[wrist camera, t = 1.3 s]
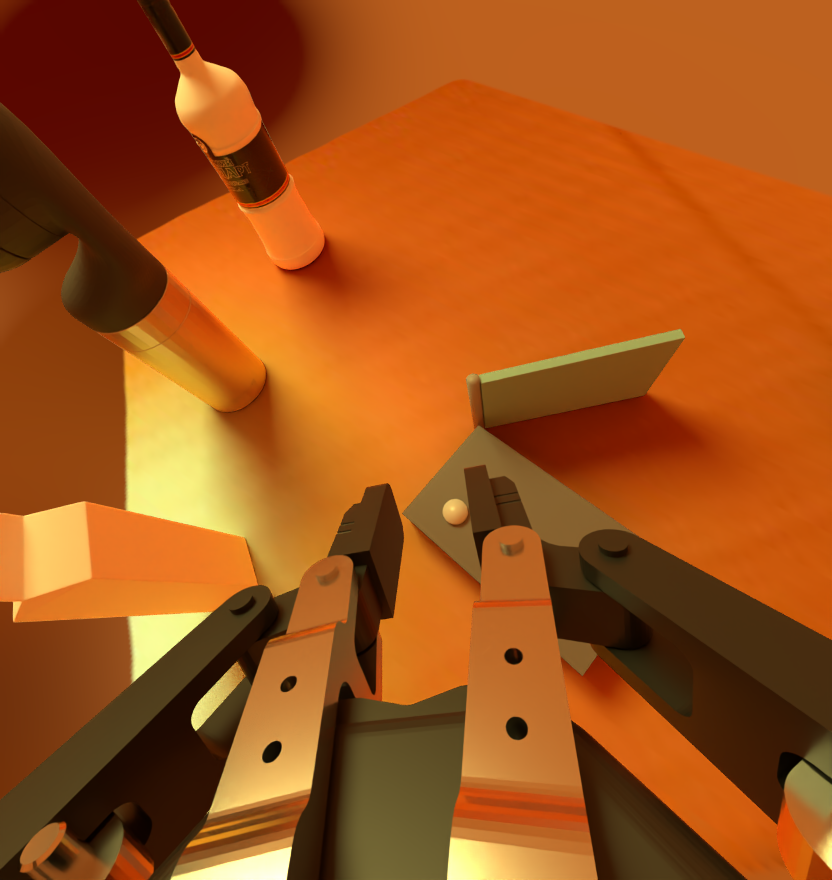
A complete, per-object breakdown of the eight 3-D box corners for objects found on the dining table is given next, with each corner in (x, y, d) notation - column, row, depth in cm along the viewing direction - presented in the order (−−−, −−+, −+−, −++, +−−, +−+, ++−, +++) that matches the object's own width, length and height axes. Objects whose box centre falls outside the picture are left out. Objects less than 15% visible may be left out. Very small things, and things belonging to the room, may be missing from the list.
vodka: (337, 246, 60) (200, -45, 33) (291, 282, 59) (110, 14, 32) (307, 221, 64) (162, -59, 36) (263, 254, 63) (81, -6, 36)
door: (475, 432, 43) (467, 386, 34) (473, 422, 44) (465, 375, 34) (644, 397, 41) (687, 337, 31) (640, 387, 41) (680, 325, 32)
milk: (245, 537, 45) (38, 486, 25) (259, 586, 42) (40, 575, 22) (199, 562, 45) (-45, 533, 25) (210, 613, 42) (-53, 626, 22)
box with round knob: (409, 519, 41) (401, 512, 38) (480, 437, 43) (478, 423, 39) (591, 683, 33) (602, 694, 29) (669, 572, 34) (688, 569, 31)
